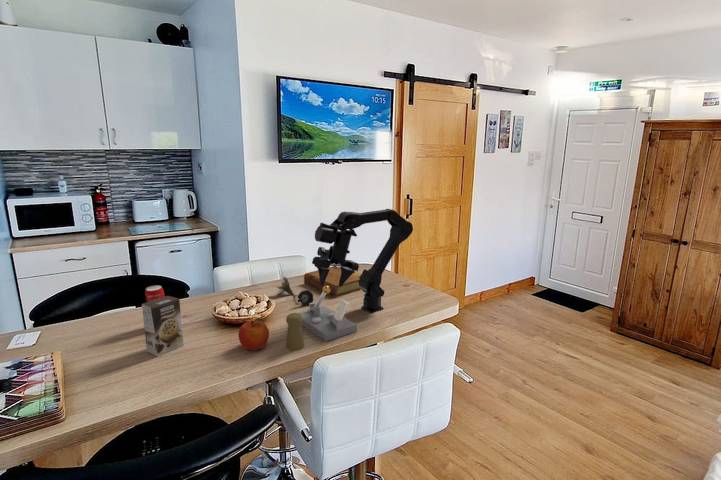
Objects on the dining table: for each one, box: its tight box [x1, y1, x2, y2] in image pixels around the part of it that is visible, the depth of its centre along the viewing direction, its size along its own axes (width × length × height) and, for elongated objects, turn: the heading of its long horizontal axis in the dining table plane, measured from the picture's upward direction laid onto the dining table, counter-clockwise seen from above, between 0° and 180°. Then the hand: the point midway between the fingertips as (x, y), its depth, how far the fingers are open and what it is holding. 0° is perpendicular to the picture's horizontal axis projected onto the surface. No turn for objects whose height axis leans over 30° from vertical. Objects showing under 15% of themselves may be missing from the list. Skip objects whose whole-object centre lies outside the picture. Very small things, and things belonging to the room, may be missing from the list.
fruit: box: [237, 317, 270, 351], centre depth 131 cm, size 10×10×10 cm
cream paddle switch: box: [330, 298, 351, 326], centre depth 142 cm, size 2×4×9 cm, turn 28°
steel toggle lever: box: [310, 286, 330, 312], centre depth 153 cm, size 3×3×11 cm
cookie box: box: [141, 295, 184, 357], centre depth 128 cm, size 9×6×16 cm
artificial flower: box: [274, 276, 314, 308], centre depth 173 cm, size 9×22×10 cm, turn 34°
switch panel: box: [298, 302, 358, 343], centre depth 147 cm, size 13×21×6 cm, turn 38°
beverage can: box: [144, 284, 166, 302], centre depth 144 cm, size 6×6×15 cm
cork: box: [285, 312, 305, 351], centre depth 132 cm, size 6×6×11 cm
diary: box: [303, 266, 362, 298], centre depth 189 cm, size 23×19×6 cm
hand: (330, 285), depth 152 cm, fingers open, 9 cm apart
